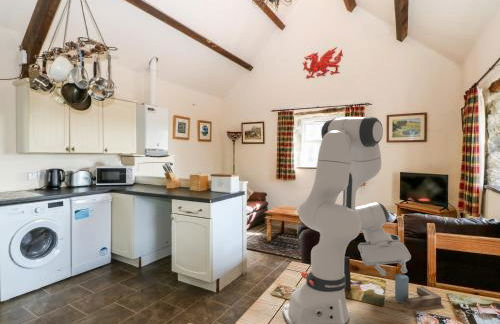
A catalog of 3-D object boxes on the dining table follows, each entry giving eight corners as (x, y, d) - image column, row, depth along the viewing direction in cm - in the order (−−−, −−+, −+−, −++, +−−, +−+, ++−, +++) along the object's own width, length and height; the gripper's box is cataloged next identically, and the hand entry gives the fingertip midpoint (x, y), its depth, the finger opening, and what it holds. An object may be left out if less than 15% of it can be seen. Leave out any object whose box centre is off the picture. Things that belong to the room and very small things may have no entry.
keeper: (400, 303, 100) (401, 279, 99) (392, 297, 104) (392, 274, 104) (411, 302, 100) (411, 278, 100) (402, 296, 105) (402, 273, 104)
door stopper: (351, 290, 110) (351, 261, 109) (335, 288, 111) (335, 260, 111) (347, 280, 119) (347, 253, 118) (333, 278, 120) (333, 252, 120)
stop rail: (409, 308, 96) (409, 301, 96) (392, 296, 105) (392, 289, 105) (441, 303, 99) (441, 297, 99) (422, 292, 107) (422, 286, 107)
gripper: (359, 239, 111) (374, 273, 101) (402, 235, 115) (421, 268, 105) (353, 246, 115) (367, 279, 106) (394, 242, 119) (412, 274, 110)
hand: (394, 273), depth 106 cm, fingers open, 8 cm apart
